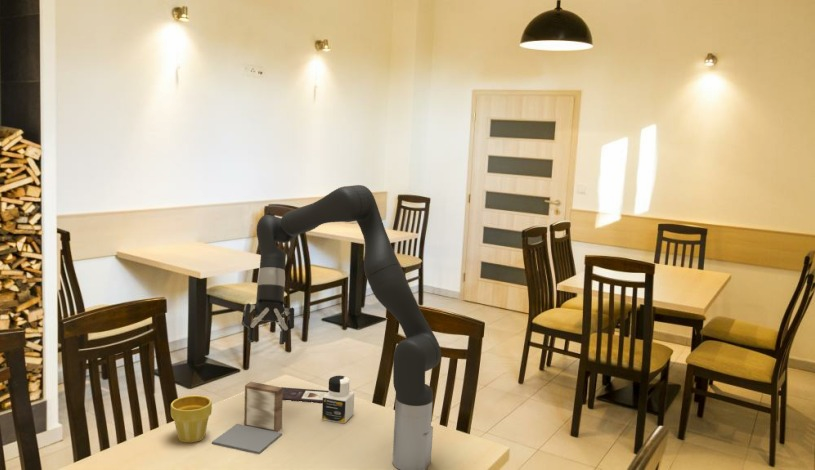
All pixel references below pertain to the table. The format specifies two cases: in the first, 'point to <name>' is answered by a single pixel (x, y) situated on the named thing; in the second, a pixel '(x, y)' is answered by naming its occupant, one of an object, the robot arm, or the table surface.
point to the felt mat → (247, 438)
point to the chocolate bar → (303, 395)
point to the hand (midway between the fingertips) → (266, 343)
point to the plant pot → (191, 417)
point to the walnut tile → (263, 406)
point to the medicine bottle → (338, 400)
